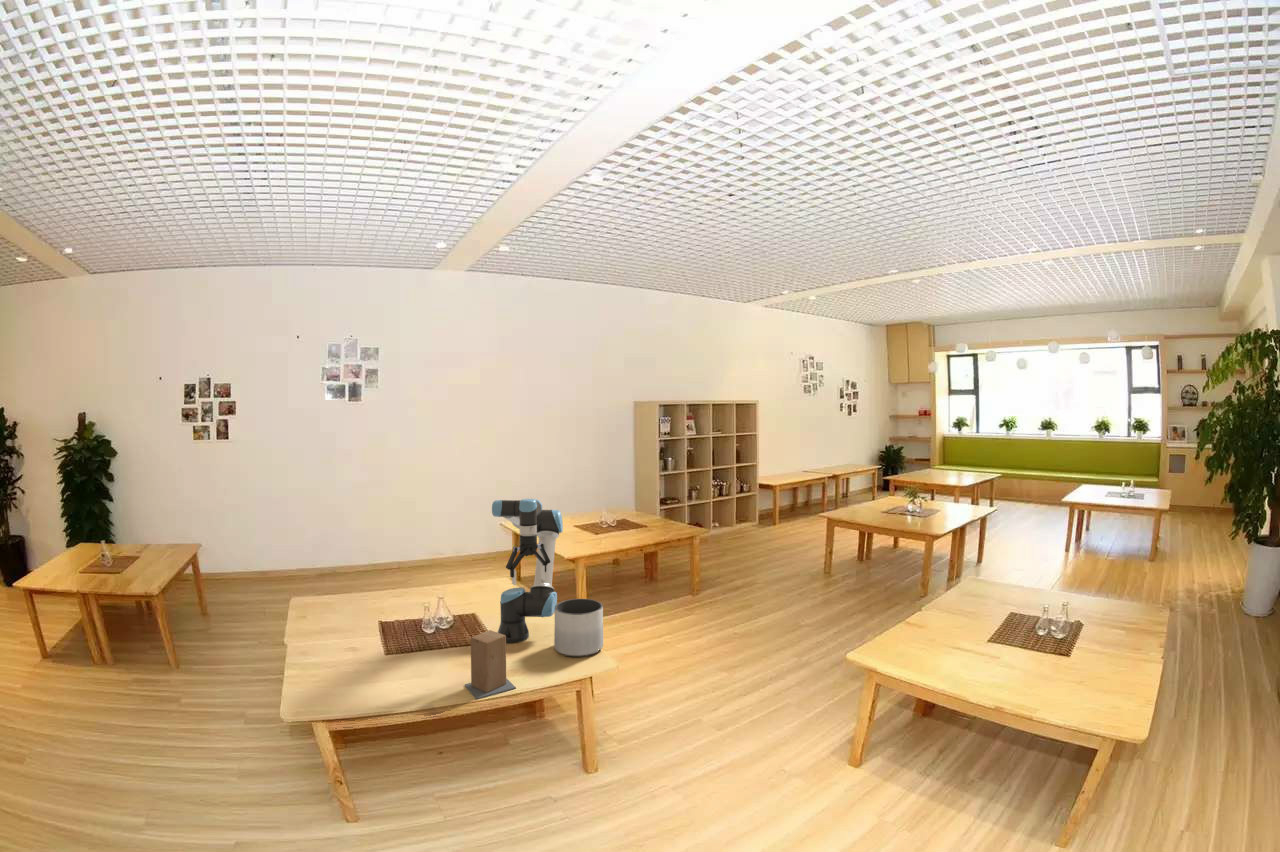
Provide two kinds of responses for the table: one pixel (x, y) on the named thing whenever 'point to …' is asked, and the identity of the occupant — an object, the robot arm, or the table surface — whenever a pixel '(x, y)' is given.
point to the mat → (481, 694)
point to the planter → (578, 627)
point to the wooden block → (488, 661)
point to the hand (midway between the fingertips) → (528, 582)
